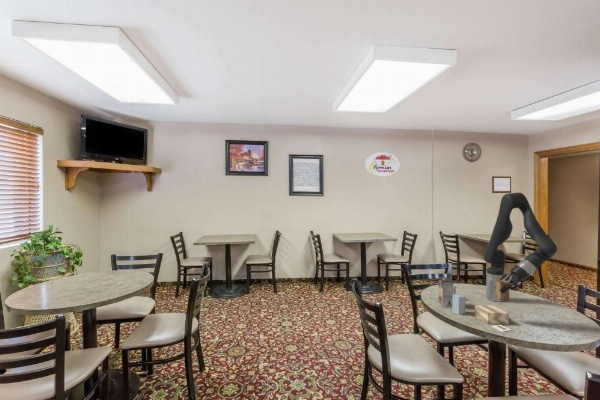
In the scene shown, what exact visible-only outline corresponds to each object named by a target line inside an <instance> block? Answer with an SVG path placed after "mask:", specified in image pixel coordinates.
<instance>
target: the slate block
mask: <svg viewBox="0 0 600 400" xmlns="http://www.w3.org/2000/svg"><path fill="white" fill-rule="evenodd" d="M451 311H452V312H453V313H454V314H457V315H459V316H460V315H465V313H466V296H465V295H462V294H459V293H456V294H454V295H453V304H452V310H451Z"/></svg>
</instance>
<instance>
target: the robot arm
mask: <svg viewBox="0 0 600 400" xmlns="http://www.w3.org/2000/svg"><path fill="white" fill-rule="evenodd" d="M514 209H518V210H519V211H520V212H521V213H522V214H521V215H522V217H523V218H522V219H523V226H524V227H523V228H524V229H525V231H526V233H527V234H528V235H529V237H530V239H531V240H532V241H534V242H535V243H536V244H537V246H538V247H537V248H536V249H535V250H534V251H533V252H532V253H529V254H528V255H527V256H526V257H524V258H523V259H522V260H521V261H519V262H518V263H517V264H516V265H514V266H513V267H512V268H511V269H510V270H509V272H510V273H509V274H506V273H505V267H506V253H505V252H504V250H502V249H497V248H498V247H499V246H500V245H502V244H503V243H505V242H506V241H507V240H508V239H509V238H510V237H511V234H512V232H513V228H514V227H513V223H512V221H511V213H512V211H513V210H514ZM557 252H558V247H557V245H556V243H555V242H554V241H553V240H552V238H551V237H549V236H548V234H547V233H546V232H545V230H544V229H543V227H542V226H541V224H540V222H539V221H538V220H537V217H536V216H535V213H534V211H533V209H532V207H531V205H530V203H529V200H528V199H527V197H526V195H524V194H523V193H522V192H511V193H506V194H504V195H503V196H502V197H501V201H500V205H499V209H498V214H497V218H496V221H495V224H494V226H493V230H492V232H491V236H490V239H489V242H488V244H487V246H486V248H485V250H484V253H483V259H484V262H486V263H487V264H494V265H492V266H490V267H487V268H486V283H485V284H486V286H485V287H486V291H485V293H486V294H485V295H486V296H485V298H486V299H487V300H490V301H493V302H502V301H501V300H499V299H497V298H496V280H505V281H507V282H508V283H507V284H506V285H505V286H506V287H505V286H504V287H503V288H502V289H501V290H500V292H501V293H503V294H504V293H505V292H506V291H507V290H508V289H509V291H510V290H515V289H517V288H518V287H519V286H522V285H523V283H522V282H521V281H525V280H527V278H530V277H531V276H532V274H534V273H535V271H536V270H538V269H539V268H540V267H541V266H542V265H543V264H544V263H545V262H547V261H548V260H550V259H551V258H552V257H553V256H554V255H555V254H556V253H557Z"/></svg>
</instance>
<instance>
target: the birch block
mask: <svg viewBox="0 0 600 400" xmlns="http://www.w3.org/2000/svg"><path fill="white" fill-rule="evenodd" d="M474 316H475V317H477V318H478V319H479V320H480V321H483V322H484V323H486V324H487V325H509V312H507V311H506V310H503V309H501V308H499V307H498V306H495V304H494V305H489V304H487V305H485V304H479V305H478V304H475V305H474Z"/></svg>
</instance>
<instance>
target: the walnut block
mask: <svg viewBox="0 0 600 400" xmlns="http://www.w3.org/2000/svg"><path fill="white" fill-rule="evenodd" d="M507 283H508V282H507V281H505V280H496V298H497V299H499V300H501V302H505V301H506V302H510V290H509V289H508V290H507V291H506V292H505V293H504V294H503V293H501V292H500V290H501V289H502V288H503V287H504V286H505V285H506V284H507ZM505 287H506V286H505Z"/></svg>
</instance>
